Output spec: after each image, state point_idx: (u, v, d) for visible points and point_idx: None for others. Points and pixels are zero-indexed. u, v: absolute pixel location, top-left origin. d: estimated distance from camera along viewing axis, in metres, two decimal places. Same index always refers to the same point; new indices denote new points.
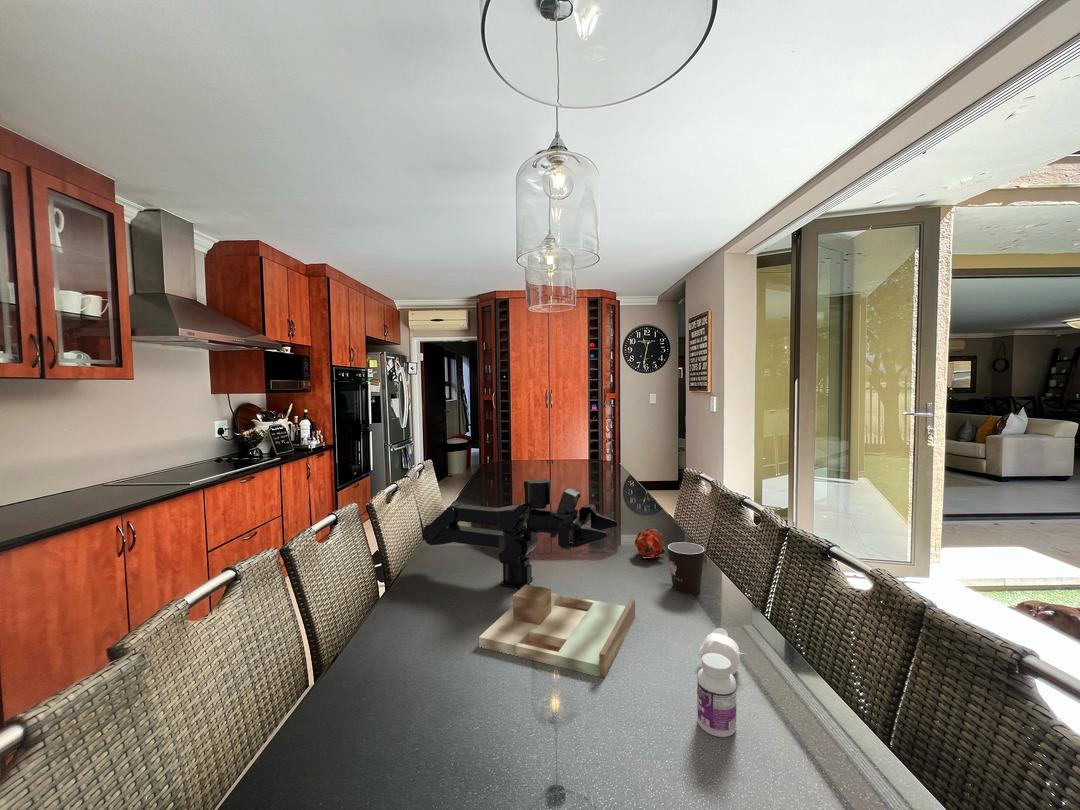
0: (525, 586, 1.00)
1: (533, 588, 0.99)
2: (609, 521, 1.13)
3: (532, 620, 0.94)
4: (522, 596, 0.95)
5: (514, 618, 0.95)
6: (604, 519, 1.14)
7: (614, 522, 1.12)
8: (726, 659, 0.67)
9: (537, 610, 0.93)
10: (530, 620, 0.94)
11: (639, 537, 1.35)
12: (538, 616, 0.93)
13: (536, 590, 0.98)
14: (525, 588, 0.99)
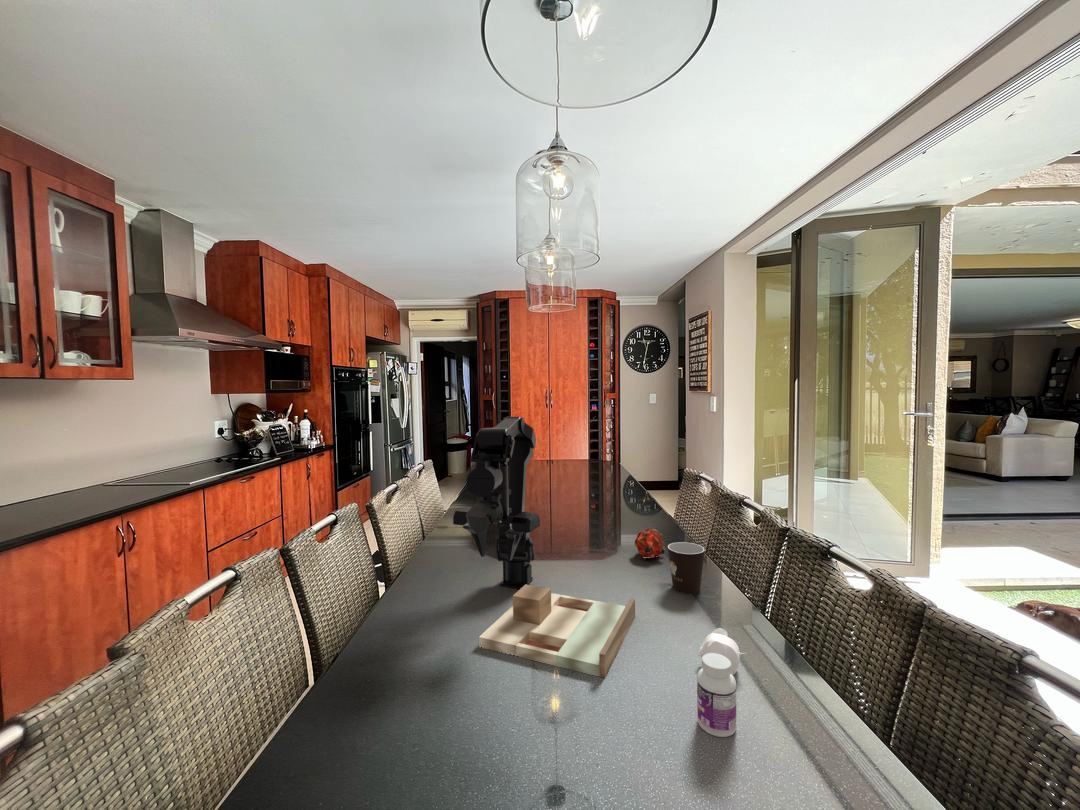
0: (525, 586, 1.00)
1: (533, 588, 0.99)
2: None
3: (532, 620, 0.94)
4: (522, 596, 0.95)
5: (514, 618, 0.95)
6: None
7: None
8: (726, 659, 0.67)
9: (537, 610, 0.93)
10: (530, 620, 0.94)
11: (639, 537, 1.35)
12: (538, 616, 0.93)
13: (536, 590, 0.98)
14: (525, 588, 0.99)
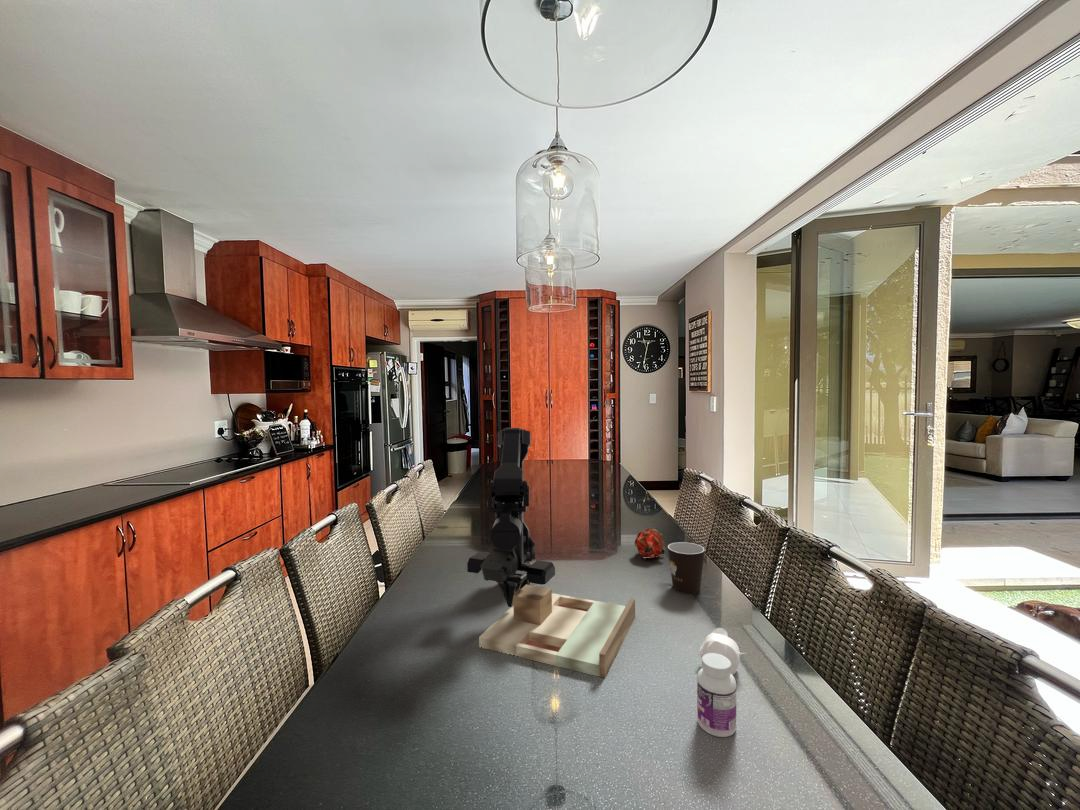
0: (526, 586, 1.00)
1: (533, 589, 0.98)
2: None
3: (532, 620, 0.94)
4: (522, 597, 0.95)
5: (515, 618, 0.95)
6: None
7: None
8: (726, 659, 0.67)
9: (537, 610, 0.93)
10: (530, 620, 0.94)
11: (639, 537, 1.35)
12: (538, 616, 0.93)
13: (536, 590, 0.98)
14: (525, 588, 0.99)
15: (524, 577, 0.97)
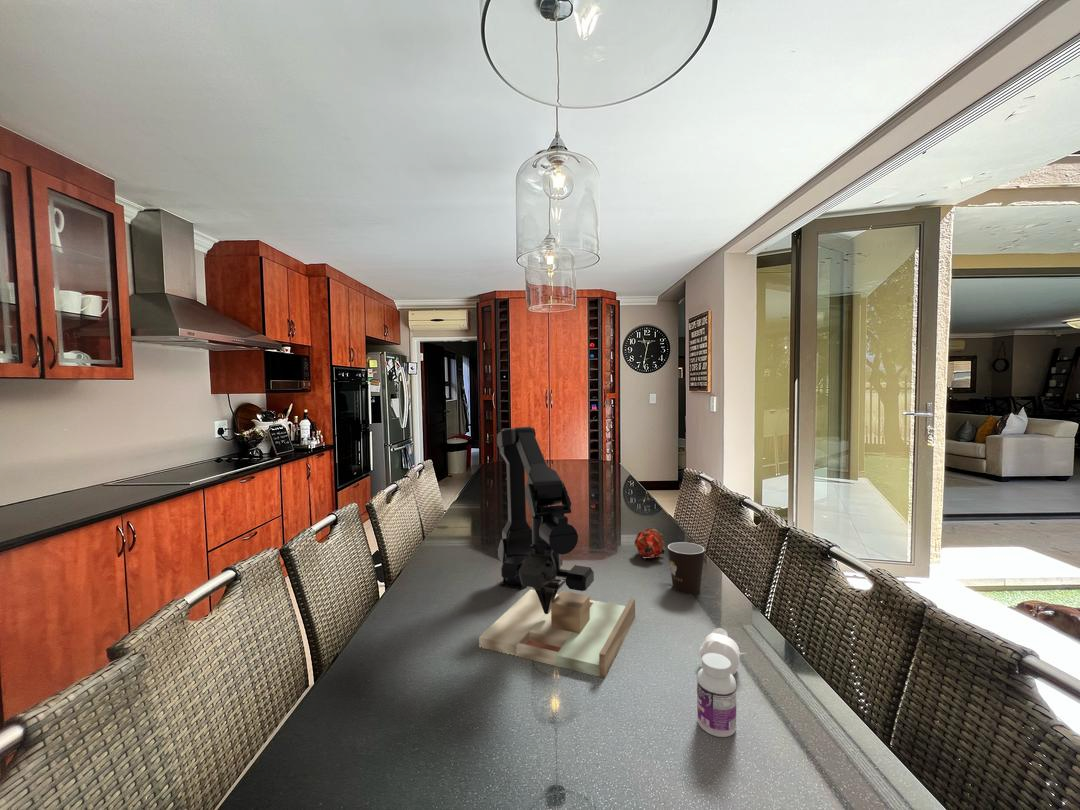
0: (562, 592, 0.96)
1: (570, 595, 0.95)
2: None
3: (572, 628, 0.90)
4: (561, 604, 0.91)
5: (552, 626, 0.92)
6: None
7: None
8: (726, 659, 0.67)
9: (577, 618, 0.90)
10: (569, 628, 0.90)
11: (639, 537, 1.35)
12: (578, 624, 0.90)
13: (574, 597, 0.94)
14: (562, 595, 0.95)
15: (562, 583, 0.94)
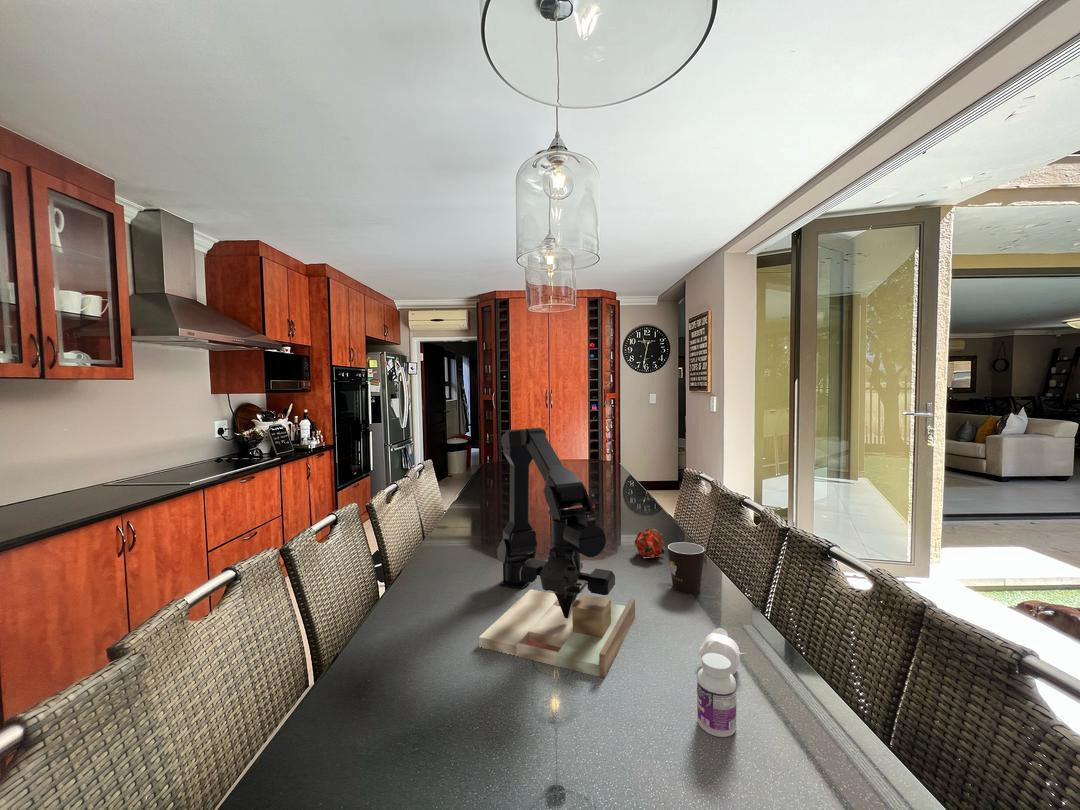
0: (582, 596, 0.95)
1: (591, 599, 0.93)
2: None
3: (594, 633, 0.89)
4: (582, 607, 0.90)
5: (573, 630, 0.90)
6: None
7: None
8: (726, 659, 0.67)
9: (599, 622, 0.88)
10: (591, 632, 0.89)
11: (639, 537, 1.35)
12: (600, 628, 0.88)
13: (595, 600, 0.92)
14: (583, 598, 0.93)
15: (582, 587, 0.92)
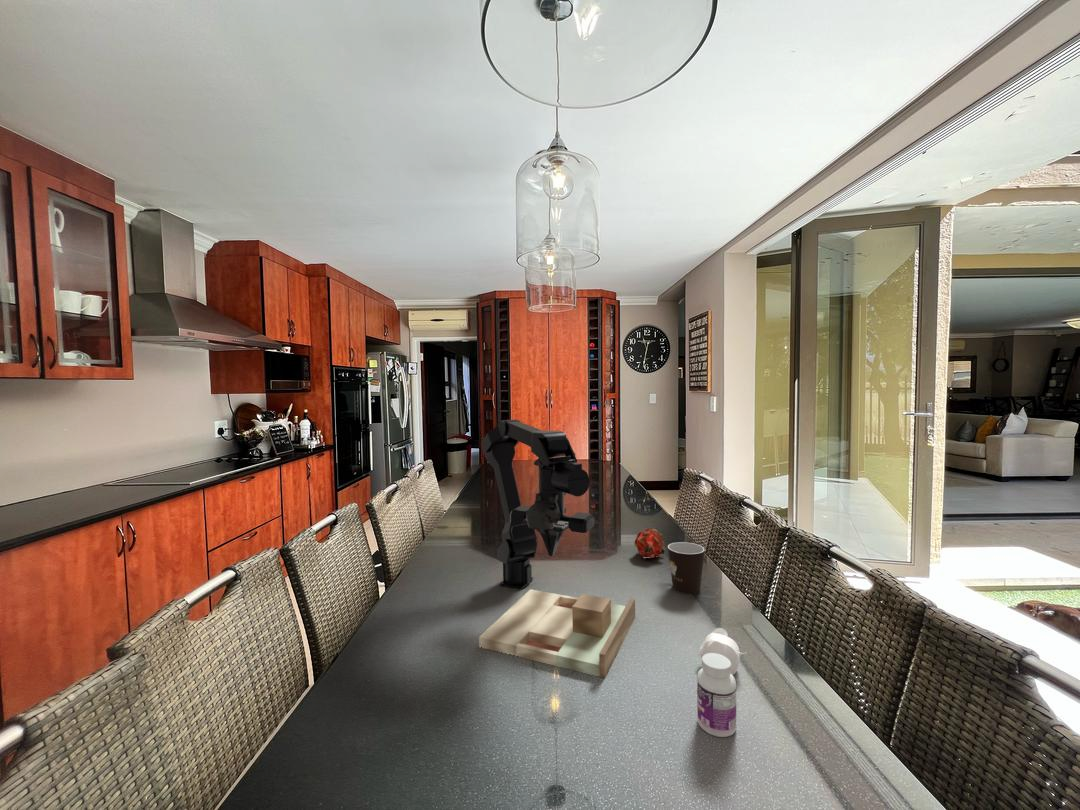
0: (582, 596, 0.95)
1: (591, 599, 0.93)
2: None
3: (594, 633, 0.89)
4: (582, 607, 0.90)
5: (574, 630, 0.90)
6: None
7: None
8: (726, 659, 0.67)
9: (599, 622, 0.88)
10: (591, 633, 0.89)
11: (639, 537, 1.35)
12: (600, 628, 0.88)
13: (595, 600, 0.92)
14: (583, 598, 0.93)
15: (565, 527, 1.03)
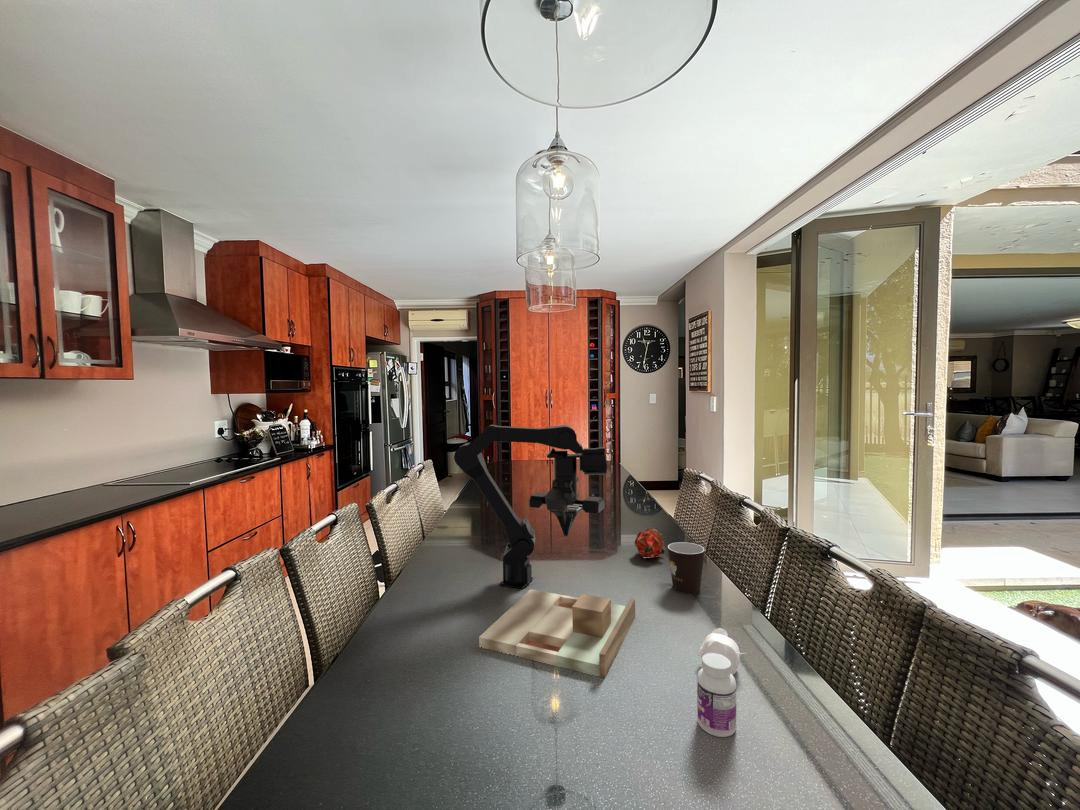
0: (582, 596, 0.95)
1: (591, 599, 0.93)
2: None
3: (594, 633, 0.89)
4: (582, 607, 0.90)
5: (574, 630, 0.90)
6: None
7: None
8: (726, 659, 0.67)
9: (599, 622, 0.88)
10: (591, 633, 0.89)
11: (639, 537, 1.35)
12: (600, 628, 0.88)
13: (595, 600, 0.92)
14: (583, 598, 0.93)
15: (579, 510, 1.16)
